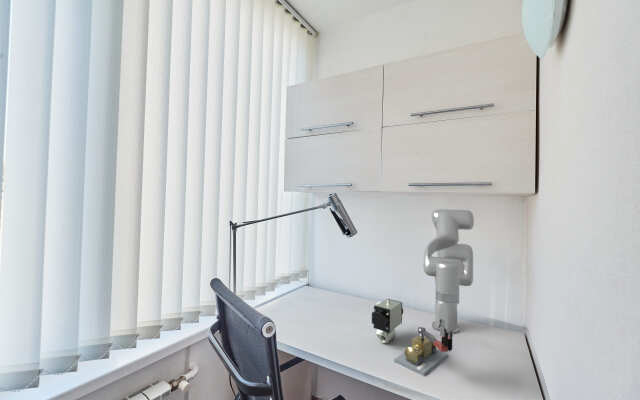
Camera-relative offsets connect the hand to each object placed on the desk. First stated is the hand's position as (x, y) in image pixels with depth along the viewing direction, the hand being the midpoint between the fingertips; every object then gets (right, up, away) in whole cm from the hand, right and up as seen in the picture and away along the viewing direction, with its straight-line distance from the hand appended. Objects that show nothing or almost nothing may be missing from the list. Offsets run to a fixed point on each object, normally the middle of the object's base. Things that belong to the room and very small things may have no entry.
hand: (446, 348), depth 98 cm
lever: (-4, +1, +4) cm, 6 cm away
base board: (-5, -10, +10) cm, 15 cm away
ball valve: (-15, -10, +25) cm, 31 cm away
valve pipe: (-5, -10, +10) cm, 15 cm away
